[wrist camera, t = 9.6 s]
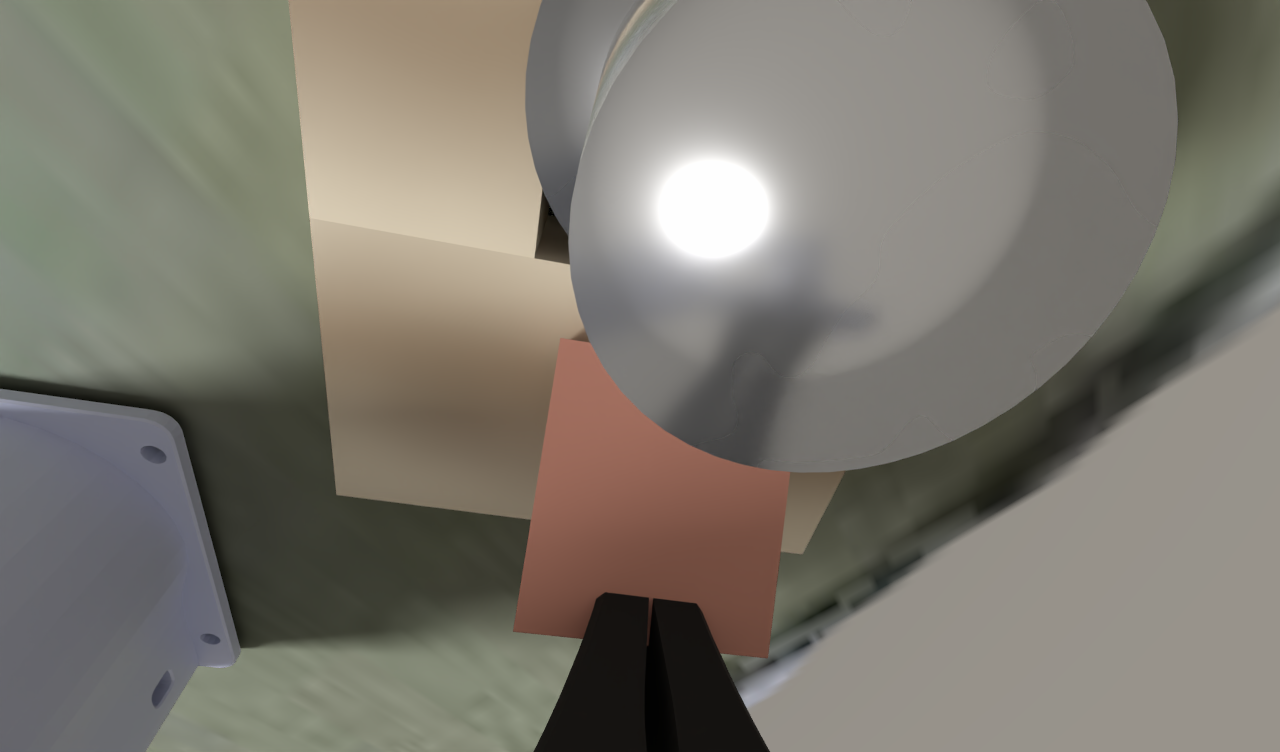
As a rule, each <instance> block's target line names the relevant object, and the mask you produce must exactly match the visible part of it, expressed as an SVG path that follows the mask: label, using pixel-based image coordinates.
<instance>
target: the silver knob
mask: <svg viewBox="0 0 1280 752" xmlns="http://www.w3.org/2000/svg"><path fill="white" fill-rule="evenodd" d="M525 112H526V122H527V132H528V140H529V144H530V149H531V153H532V157H533V162H534V166H535V170H536V172H537V175H538V178H539V181H540V183H541V186H542V189H543V192H544V194H545V197H546V199H547V201H548V203H549V205H550V206H551V208H552V210H553V212H554V214H555V216H556V218H557V220H558V222H559V223H560V225H561V226H562V228H563V229H564V230H565V232H566V233H567V235H568V236H569V240H568V244H569V258H570V272H571V281H572V285H573V290H574V294H575V299H576V304H577V308H578V312H579V315H580V317H581V320H582V323H583V326H584V328H585V331H586V334H587V336H588V339H589V341H590V343H591V345H592V347H593V349H594V351H595V353H596V354H597V356H598V358H599V360H600V362H601V364H602V365H603V367H604V369H605V370H606V372H607V373H608V374H609V376H610V377H611V378H612V380H613V381H614V382H615V384H616V385H617V386H618V388H619V389H620V390H621V392H622V393H623V394H624V395H625V396H626V397H627V398H628V399H629V400H630V401H631V402H632V403H633V404H634V405H635V406H636V407H637V408H638V409H639V410H640V411H641V412H642V413H643V414H644V415H646V416H647V417H648V418H649V419H651V420H652V421H653V422H654V423H656V424H657V425H658V426H660V427H661V428H662V429H663V430H665V431H667V432H668V433H670V434H672V435H673V436H675V437H677V438H678V439H680V440H682V441H683V442H685V443H687V444H688V445H690V446H693V447H695V448H697V449H700V450H702V451H704V452H706V453H709V454H711V455H713V456H716V457H719V458H722V459H725V460H729V461H732V462H735V463H738V464H742V465H747V466H752V467H757V468H762V469H767V470H775V471H787V472H799V473H807V472H836V471H845V470H854V469H862V468H867V467H872V466H877V465H882V464H886V463H891V462H895V461H898V460H901V459H905V458H908V457H911V456H915V455H918V454H921V453H924V452H926V451H929V450H931V449H934V448H936V447H939V446H942V445H944V444H947V443H949V442H952V441H954V440H956V439H958V438H960V437H962V436H964V435H966V434H968V433H970V432H972V431H974V430H976V429H978V428H980V427H982V426H983V425H985V424H987V423H988V422H990V421H992V420H993V419H995V418H996V417H998V416H1000V415H1001V414H1003V413H1005V412H1006V411H1008V410H1009V409H1011V408H1013V407H1014V406H1015V405H1017V404H1018V403H1019V402H1021V401H1022V400H1023V399H1025V398H1026V397H1027V396H1029V395H1030V394H1032V393H1033V392H1034V391H1036V390H1037V389H1038V388H1040V387H1041V386H1042V385H1043V384H1044V383H1045V382H1047V381H1048V380H1049V379H1050V378H1051V377H1052V376H1053V375H1054V374H1056V373H1057V372H1058V371H1059V370H1060V369H1061V368H1062V367H1063V366H1065V365H1066V364H1067V363H1068V362H1069V361H1070V360H1071V359H1072V358H1073V357H1074V355H1075V354H1076V353H1077V352H1078V351H1079V350H1080V349H1081V348H1082V347H1083V346H1084V345H1085V344H1086V343H1087V342H1088V341H1089V339H1090V338H1091V337H1092V336H1093V335H1094V334H1095V333H1096V331H1097V330H1098V329H1099V327H1100V326H1101V325H1102V324H1103V322H1104V321H1105V320H1106V318H1107V317H1108V316H1109V314H1110V313H1111V312H1112V311H1113V309H1114V308H1115V307H1116V305H1117V304H1118V302H1119V301H1120V299H1121V297H1122V296H1123V294H1124V293H1125V291H1126V289H1127V288H1128V286H1129V285H1130V283H1131V281H1132V280H1133V278H1134V276H1135V275H1136V273H1137V272H1138V269H1139V267H1140V265H1141V263H1142V261H1143V259H1144V257H1145V255H1146V253H1147V251H1148V249H1149V247H1150V244H1151V242H1152V240H1153V238H1154V236H1155V233H1156V230H1157V227H1158V224H1159V222H1160V219H1161V216H1162V213H1163V210H1164V207H1165V204H1166V201H1167V198H1168V193H1169V188H1170V184H1171V179H1172V174H1173V169H1174V164H1175V160H1176V145H1177V130H1178V111H1177V100H1176V88H1175V78H1174V74H1173V70H1172V66H1171V63H1170V59H1169V55H1168V51H1167V47H1166V43H1165V39H1164V37H1163V35H1162V33H1161V31H1160V29H1159V26H1158V24H1157V22H1156V20H1155V18H1154V16H1153V13H1152V11H1151V9H1150V7H1149V5H1148V3H1147V1H1146V0H542V2H541V5H540V8H539V12H538V15H537V19H536V23H535V26H534V30H533V33H532V37H531V41H530V48H529V55H528V62H527V69H526V85H525Z"/></svg>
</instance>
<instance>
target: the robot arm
mask: <svg viewBox="0 0 1280 752" xmlns="http://www.w3.org/2000/svg"><path fill="white" fill-rule="evenodd" d="M158 448H159V449H158ZM648 609H649V597H641V596H633V595H625V594H616V593H608V592H605V593H603V594H602V595H600V596H599V597H598V598H596V600H595V604H594V608H593V611H592V614H591V617H590V619H589V622H588V625H587V628H586V631H585V634H584V637H583V640H582V643H581V646H580V648H579V651H578V654H577V656H576V658H575V661H574V663H573V666H572V668H571V671H570V673H569V675H568V678H567V680H566V683H565V685H564V688H563V690H562V692H561V695H560V697H559V699H558V701H557V704H556V706H555V708H554V710H553V712H552V715H551V717H550V719H549V721H548V723H547V725H546V727H545V730H544V732H543V734H542V736H541V738H540V740H539V742H538V744H537V746H536V748H535V750H534V752H770V751H769V749H768V747H767V746H766V744H765V742H764V740H763V738H762V737H761V735H760V733H759V731H758V729H757V727H756V726H755V724H754V722H753V720H752V718H751V716H750V714H749V712H748V710H747V708H746V706H745V704H744V702H743V700H742V698H741V697H740V695H739V693H738V691H737V689H736V686H735V684H734V682H733V680H732V678H731V676H730V674H729V672H728V670H727V667H726V665H725V663H724V661H723V659H722V656H721V654H720V652H719V650H718V647H717V645H716V643H715V641H714V639H713V636H712V634H711V632H710V629H709V627H708V624H707V622H706V620H705V617H704V614H703V612H702V611H701V609H700V608H699V606H698V605H697V603H690V602H682V601H674V600H666V599H657V598H653V604H652V615H651V625H650V636H649V646H647V630H648ZM240 652H241V649H240V645H239V641H238V637H237V634H236V630H235V626H234V622H233V619H232V615H231V611H230V607H229V604H228V600H227V596H226V592H225V589H224V585H223V581H222V577H221V574H220V570H219V566H218V562H217V559H216V555H215V551H214V547H213V544H212V540H211V536H210V532H209V529H208V525H207V521H206V517H205V514H204V510H203V506H202V502H201V499H200V495H199V491H198V487H197V484H196V480H195V476H194V472H193V469H192V465H191V461H190V457H189V454H188V450H187V446H186V442H185V439H184V435H183V431H182V429H181V427H180V425H179V424H178V422H177V421H175V420H174V419H173V418H172V417H171V416H169V415H167V414H165V413H163V412H159V411H155V410H150V409H142V408H135V407H128V406H121V405H114V404H106V403H99V402H92V401H85V400H78V399H70V398H63V397H56V396H49V395H42V394H34V393H27V392H20V391H13V390H6V389H0V752H146V750H147V748H148V747H149V745H150V743H151V742H152V740H153V739H154V737H155V735H156V734H157V732H158V730H159V729H160V727H161V725H162V724H163V722H164V721H165V719H166V717H167V716H168V714H169V712H170V711H171V709H172V707H173V706H174V704H175V703H176V701H177V699H178V698H179V696H180V694H181V693H182V691H183V689H184V688H185V686H186V685H187V683H188V681H189V680H190V678H191V676H192V675H193V673H194V672H195V670H196V668H197V667H198V666H207V667H218V668H225V667H229V666H232V665H233V664H234V663H235V662H236V660H237V658H238V657H239V655H240Z"/></svg>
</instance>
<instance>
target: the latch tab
mask: <svg viewBox="0 0 1280 752" xmlns="http://www.w3.org/2000/svg"><path fill="white" fill-rule="evenodd" d="M789 478H790V472H787V471H775V470H767V469H762V468H757V467H752V466H747V465H742V464H738V463H735V462H732V461H729V460H725V459H722V458H719V457H716V456H713V455H711V454H709V453H706V452H704V451H702V450H700V449H697V448H695V447H693V446H690V445H688V444H687V443H685V442H683V441H682V440H680V439H678V438H677V437H675V436H673V435H672V434H670V433H668V432H667V431H665V430H663V429H662V428H661V427H660V426H658V425H657V424H656V423H654V422H653V421H652V420H651V419H649V418H648V417H647V416H646V415H644V414H643V413H642V412H641V411H640V410H639V409H638V408H637V407H636V406H635V405H634V404H633V403H632V402H631V401H630V400H629V399H628V398H627V397H626V396H625V395H624V394H623V393H622V392H621V390H620V389H619V388H618V386H617V385H616V384H615V382H614V381H613V380H612V378H611V377H610V376H609V374H608V373H607V372H606V370H605V369H604V367H603V365H602V364H601V362H600V360H599V358H598V356H597V354H596V353H595V351H594V349H593V347H592V345H591V343H588V342H582V341H576V340H570V339H564V338H560V343H559V349H558V356H557V362H556V368H555V374H554V380H553V387H552V393H551V399H550V405H549V412H548V418H547V424H546V430H545V436H544V443H543V449H542V455H541V461H540V467H539V474H538V480H537V486H536V492H535V499H534V505H533V511H532V517H531V523H530V530H529V536H528V542H527V548H526V554H525V561H524V567H523V573H522V579H521V586H520V592H519V598H518V604H517V610H516V617H515V623H514V629H513V632H522V633H531V634H541V635H551V636H560V637H570V638H579V639H583V637H584V634H585V631H586V628H587V625H588V622H589V619H590V617H591V614H592V611H593V608H594V604H595V600H596V598H598V597H599V596H600V595H602V594H603V593H605V592H608V593H616V594H625V595H633V596H641V597H649V609H648V630H647V646H649V636H650V625H651V615H652V604H653V598H657V599H666V600H674V601H682V602H690V603H697V605H698V606H699V608H700V609H701V611H702V612H703V614H704V617H705V620H706V622H707V624H708V627H709V629H710V632H711V634H712V636H713V639H714V641H715V643H716V645H717V647H718V650H719V652H720V653H722V654H732V655H741V656H751V657H760V658H768V653H769V644H770V636H771V628H772V619H773V611H774V603H775V594H776V586H777V578H778V569H779V561H780V553H781V545H782V536H783V528H784V520H785V511H786V503H787V495H788V486H789Z"/></svg>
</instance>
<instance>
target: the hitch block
mask: <svg viewBox="0 0 1280 752" xmlns="http://www.w3.org/2000/svg"><path fill="white" fill-rule="evenodd" d="M541 2H542V0H289V10H290V20H291V31H292V41H293V51H294V62H295V72H296V82H297V93H298V103H299V113H300V124H301V134H302V144H303V155H304V165H305V175H306V186H307V196H308V206H309V217H310V227H311V237H312V248H313V258H314V268H315V279H316V289H317V299H318V309H319V320H320V330H321V340H322V351H323V361H324V371H325V382H326V392H327V402H328V413H329V423H330V433H331V444H332V454H333V464H334V475H335V485H336V495H341V496H348V497H356V498H364V499H372V500H380V501H388V502H396V503H403V504H411V505H419V506H427V507H435V508H443V509H450V510H458V511H466V512H474V513H482V514H490V515H497V516H505V517H513V518H521V519H529V520H531V517H532V511H533V505H534V499H535V492H536V486H537V480H538V474H539V467H540V461H541V455H542V449H543V443H544V436H545V430H546V424H547V418H548V412H549V405H550V399H551V393H552V387H553V380H554V374H555V368H556V362H557V356H558V349H559V343H560V338H564V339H570V340H576V341H582V342H588V343H590V341H589V339H588V336H587V334H586V331H585V328H584V326H583V323H582V320H581V317H580V315H579V312H578V308H577V304H576V299H575V294H574V290H573V285H572V281H571V272H570V258H569V244H568V240H569V236H568V235H567V233H566V232H565V230H564V229H563V228H562V226H561V225H560V223H559V222H558V220H557V218H556V217H555V216H549V215H548V212H549V203H548V201H547V199H546V197H545V194H544V192H543V189H542V186H541V183H540V181H539V178H538V175H537V172H536V170H535V166H534V162H533V157H532V153H531V149H530V144H529V140H528V132H527V122H526V112H525V85H526V69H527V62H528V55H529V48H530V41H531V37H532V33H533V30H534V26H535V23H536V19H537V15H538V12H539V8H540V5H541ZM845 471H846V470H845ZM845 471H836V472H807V473H799V472H790V478H789V486H788V495H787V503H786V511H785V520H784V528H783V536H782V545H781V552H788V553H795V554H803V552H804V550H805V549H806V547H807V545H808V543H809V541H810V539H811V537H812V535H813V533H814V531H815V529H816V527H817V525H818V523H819V522H820V520H821V518H822V516H823V514H824V512H825V510H826V508H827V506H828V504H829V502H830V500H831V498H832V496H833V495H834V493H835V491H836V489H837V487H838V485H839V483H840V481H841V479H842V477H843V475H844V473H845Z"/></svg>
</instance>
